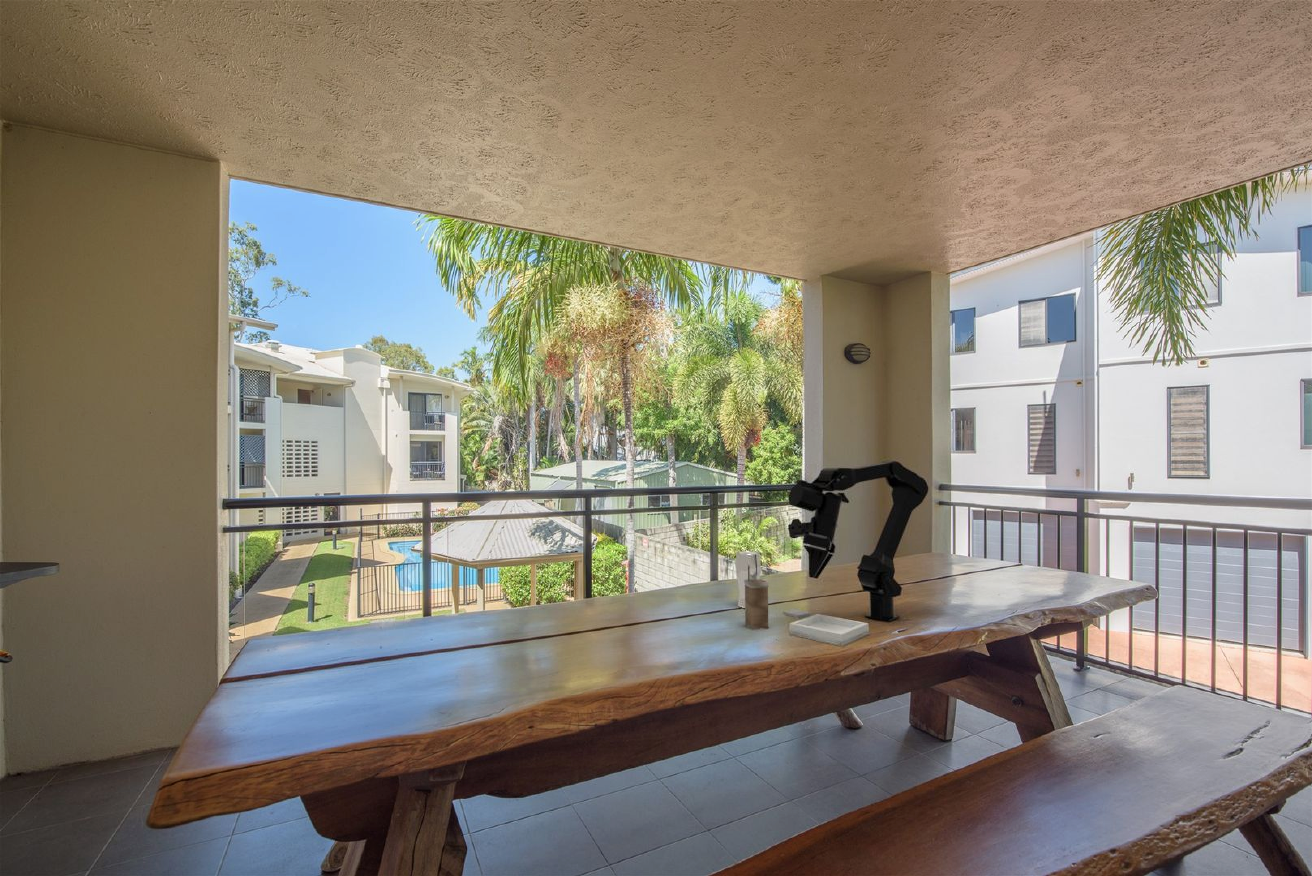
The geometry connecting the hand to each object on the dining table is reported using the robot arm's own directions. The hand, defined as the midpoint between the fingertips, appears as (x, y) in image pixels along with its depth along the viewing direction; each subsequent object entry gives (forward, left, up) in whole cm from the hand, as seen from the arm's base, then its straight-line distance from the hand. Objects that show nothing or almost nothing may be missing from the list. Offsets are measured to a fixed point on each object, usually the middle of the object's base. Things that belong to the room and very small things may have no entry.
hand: (813, 577), depth 142 cm
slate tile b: (-6, -9, -12) cm, 16 cm away
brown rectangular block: (+11, -9, -12) cm, 18 cm away
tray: (+5, +7, -12) cm, 14 cm away
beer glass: (-5, -23, -12) cm, 27 cm away
